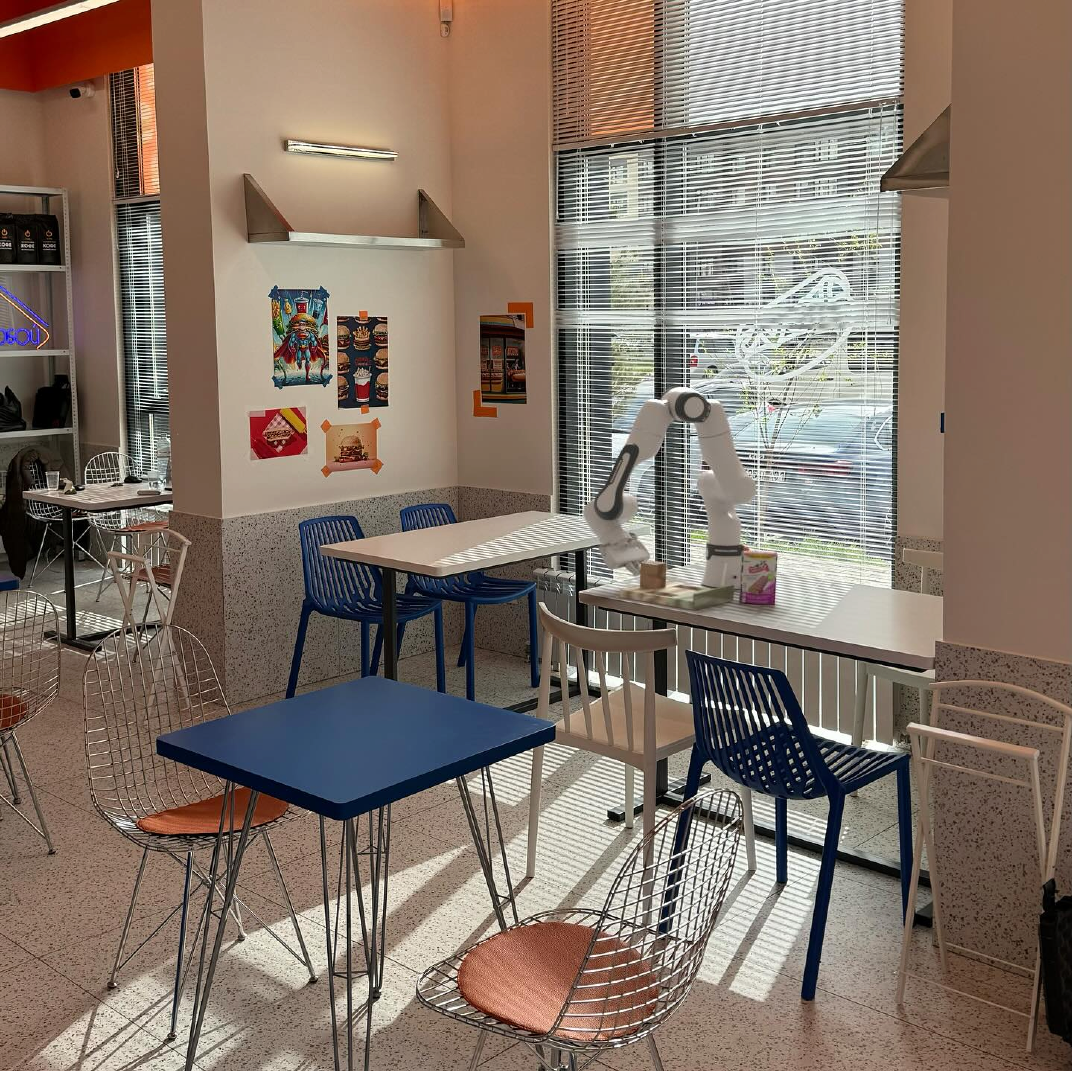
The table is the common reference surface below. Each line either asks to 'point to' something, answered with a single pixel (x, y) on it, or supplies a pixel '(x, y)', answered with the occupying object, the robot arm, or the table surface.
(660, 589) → the trap deck
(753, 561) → the candy bar box
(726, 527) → the robot arm
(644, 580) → the walnut block
